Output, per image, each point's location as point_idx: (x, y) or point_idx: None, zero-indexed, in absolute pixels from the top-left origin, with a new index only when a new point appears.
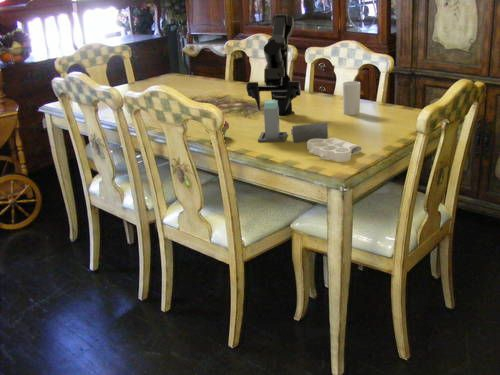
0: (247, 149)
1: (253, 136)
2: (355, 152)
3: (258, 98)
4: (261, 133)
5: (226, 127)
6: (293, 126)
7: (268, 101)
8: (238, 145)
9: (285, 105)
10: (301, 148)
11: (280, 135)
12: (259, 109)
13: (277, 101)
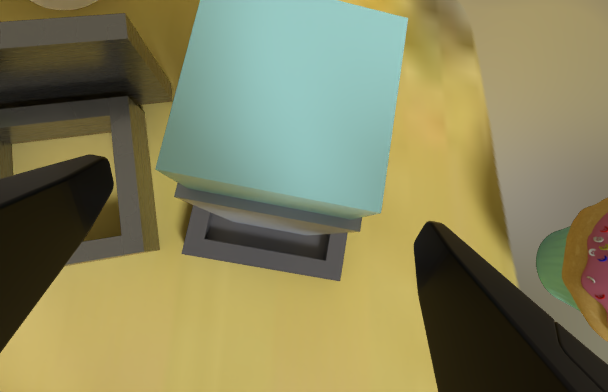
0: (407, 58)
1: (383, 268)
2: None
3: (536, 340)
4: (342, 252)
5: (587, 222)
6: (120, 22)
7: (337, 115)
8: (452, 127)
9: (66, 167)
10: (141, 5)
11: (227, 232)
12: (423, 227)
13: (166, 166)
